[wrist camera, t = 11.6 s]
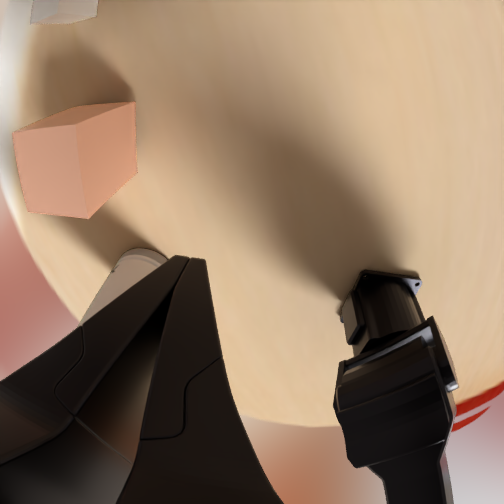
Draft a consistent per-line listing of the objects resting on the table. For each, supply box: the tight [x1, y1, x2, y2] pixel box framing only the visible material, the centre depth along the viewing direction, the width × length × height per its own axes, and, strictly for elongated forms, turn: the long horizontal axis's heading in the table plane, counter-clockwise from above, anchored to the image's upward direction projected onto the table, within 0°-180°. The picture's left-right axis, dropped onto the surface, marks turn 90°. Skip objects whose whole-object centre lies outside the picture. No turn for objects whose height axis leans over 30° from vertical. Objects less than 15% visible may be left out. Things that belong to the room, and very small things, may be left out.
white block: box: [30, 0, 98, 25], centre depth 10 cm, size 3×3×4 cm
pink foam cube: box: [12, 102, 138, 219], centre depth 15 cm, size 5×5×7 cm
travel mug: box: [78, 248, 167, 326], centre depth 18 cm, size 6×7×20 cm
